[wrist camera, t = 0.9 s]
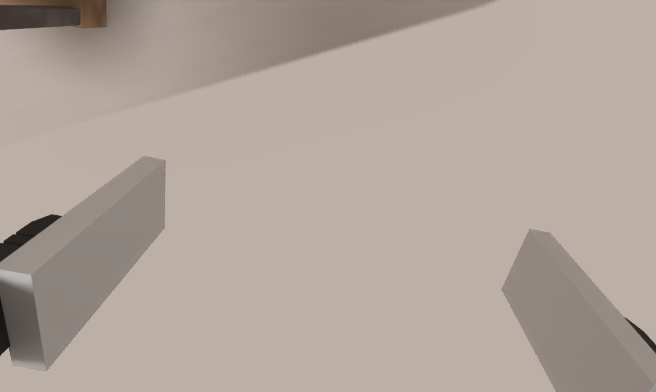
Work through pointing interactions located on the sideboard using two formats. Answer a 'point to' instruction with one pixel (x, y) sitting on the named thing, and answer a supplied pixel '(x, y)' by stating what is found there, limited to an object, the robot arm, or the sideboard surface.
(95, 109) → the sideboard surface
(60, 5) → the socket station
